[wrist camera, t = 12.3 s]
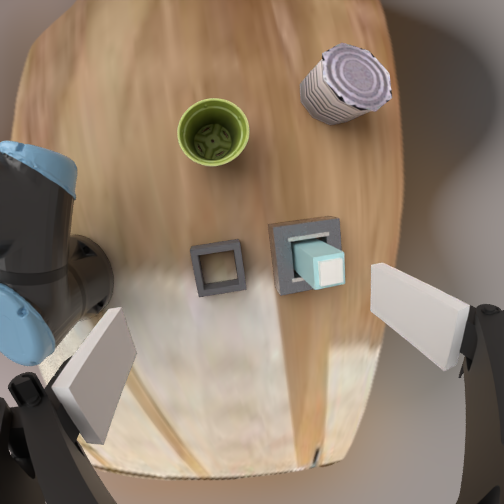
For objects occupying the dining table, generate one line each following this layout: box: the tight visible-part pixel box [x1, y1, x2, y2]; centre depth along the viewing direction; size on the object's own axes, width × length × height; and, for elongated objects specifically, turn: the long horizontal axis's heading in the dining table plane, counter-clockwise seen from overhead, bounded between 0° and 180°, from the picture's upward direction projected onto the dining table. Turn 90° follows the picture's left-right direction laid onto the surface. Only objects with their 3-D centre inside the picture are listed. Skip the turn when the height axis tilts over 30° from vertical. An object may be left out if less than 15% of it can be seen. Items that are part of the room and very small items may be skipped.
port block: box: [268, 216, 341, 295], centre depth 46 cm, size 11×11×4 cm
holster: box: [190, 239, 246, 297], centre depth 45 cm, size 8×8×3 cm
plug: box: [291, 238, 345, 290], centre depth 42 cm, size 4×4×13 cm
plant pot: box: [177, 98, 249, 166], centre depth 38 cm, size 9×9×9 cm
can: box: [300, 43, 392, 125], centre depth 37 cm, size 11×11×12 cm
